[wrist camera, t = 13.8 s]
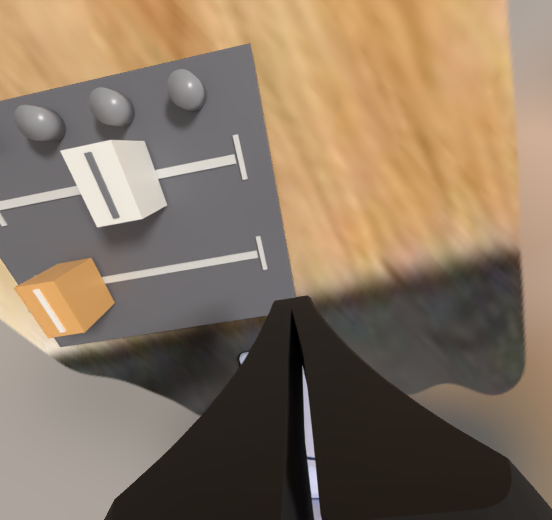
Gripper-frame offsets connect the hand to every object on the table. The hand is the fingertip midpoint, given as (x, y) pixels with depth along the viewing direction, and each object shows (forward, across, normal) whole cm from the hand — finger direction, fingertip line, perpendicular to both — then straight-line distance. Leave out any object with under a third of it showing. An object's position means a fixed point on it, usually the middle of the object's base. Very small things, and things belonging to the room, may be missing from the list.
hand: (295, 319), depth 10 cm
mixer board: (+10, +10, -3) cm, 14 cm away
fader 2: (+8, +14, 0) cm, 16 cm away
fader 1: (+8, +8, -6) cm, 12 cm away
